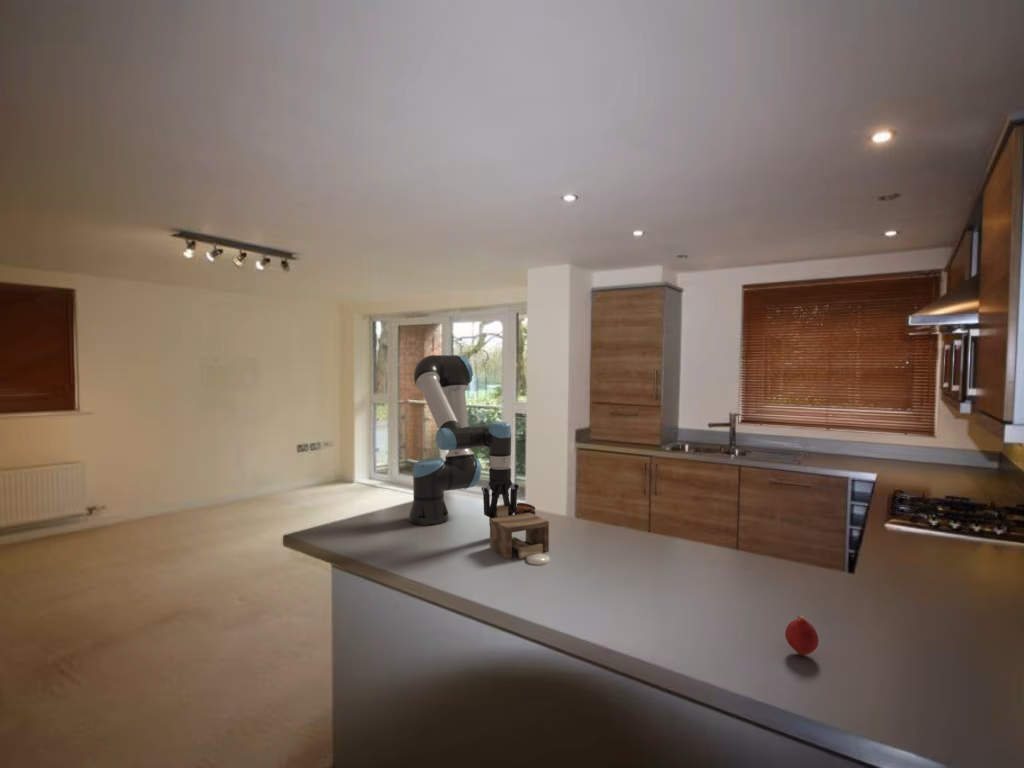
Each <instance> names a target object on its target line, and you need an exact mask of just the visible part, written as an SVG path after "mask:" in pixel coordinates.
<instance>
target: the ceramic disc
mask: <svg viewBox="0 0 1024 768" xmlns="http://www.w3.org/2000/svg"><path fill="white" fill-rule="evenodd" d="M550 560H551V558H550V556H549V555H547V554H544V553H543V554H532V555H529V556H527V558H526V562H527V563H528V564H530V565H533V564H534V565H533V566H543V564H544V565H548V564H549V563H550V562H551V561H550Z"/></svg>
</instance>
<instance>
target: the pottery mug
mask: <svg viewBox="0 0 1024 768" xmlns="http://www.w3.org/2000/svg"><path fill="white" fill-rule="evenodd" d="M523 513H532V514H534V515H536V507H535V506H534V505H532V504H530V503H526V502H517V505H516V513H513V515H517V514H523Z"/></svg>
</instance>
